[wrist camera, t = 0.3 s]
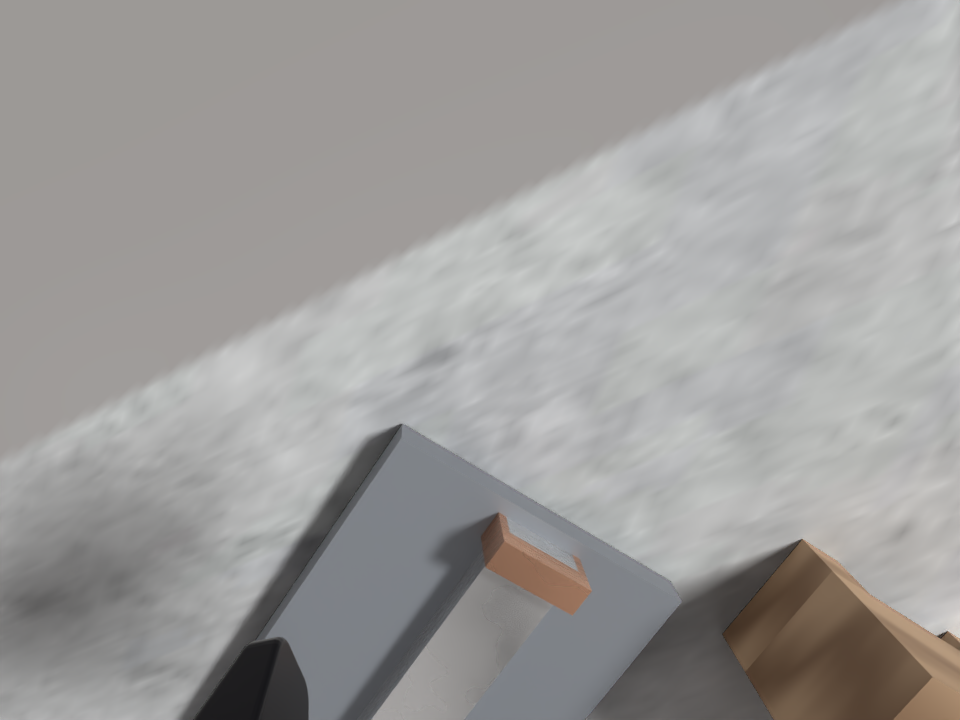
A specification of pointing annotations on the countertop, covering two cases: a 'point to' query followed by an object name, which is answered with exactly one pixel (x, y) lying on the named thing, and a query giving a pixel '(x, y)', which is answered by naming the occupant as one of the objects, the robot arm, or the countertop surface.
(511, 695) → the mounting plate
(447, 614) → the copper ended bar
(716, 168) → the countertop surface
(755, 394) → the countertop surface
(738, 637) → the rail module
